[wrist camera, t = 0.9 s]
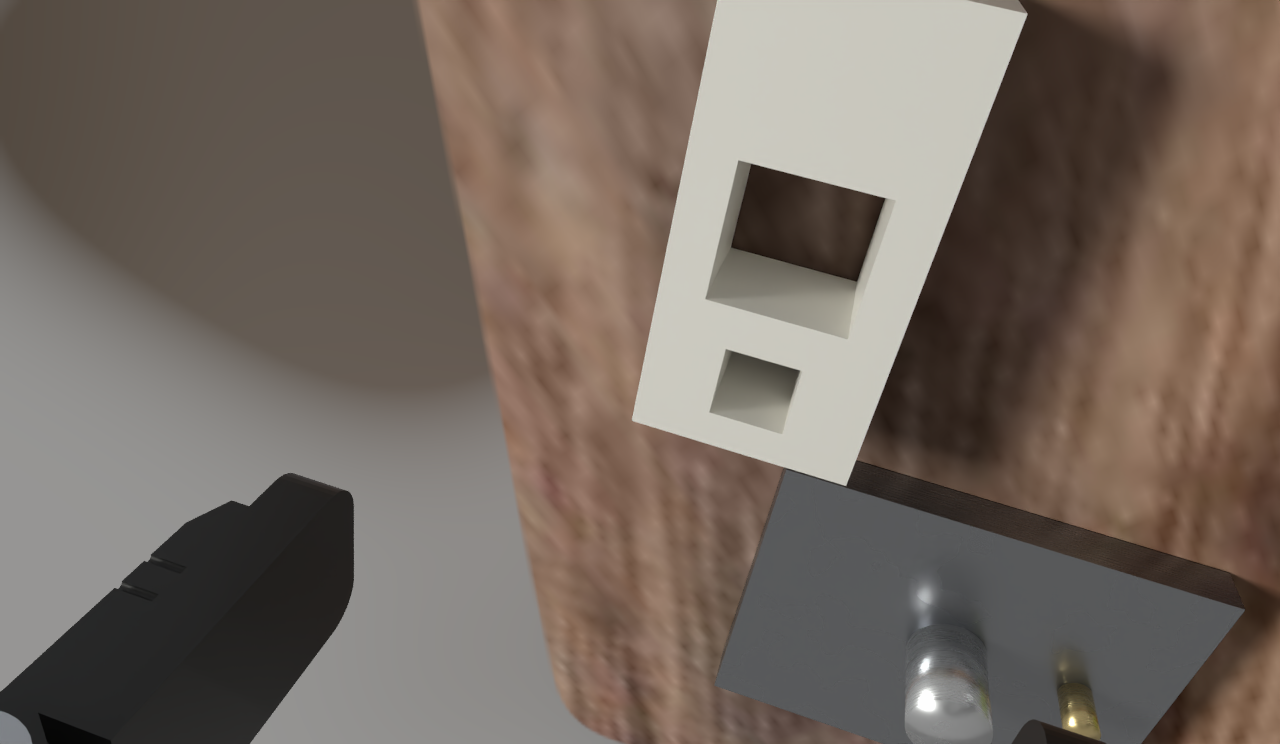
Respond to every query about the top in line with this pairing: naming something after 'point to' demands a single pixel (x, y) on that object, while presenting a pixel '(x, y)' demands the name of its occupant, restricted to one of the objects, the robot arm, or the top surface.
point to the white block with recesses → (828, 152)
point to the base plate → (963, 617)
